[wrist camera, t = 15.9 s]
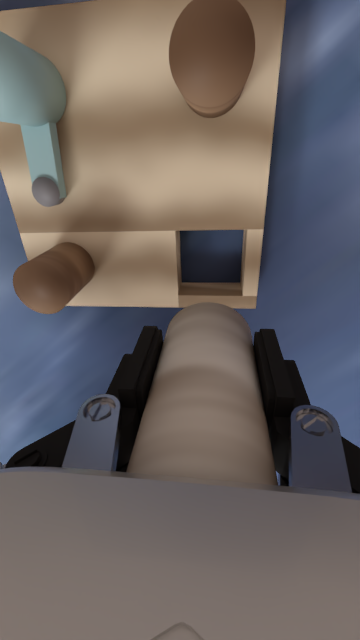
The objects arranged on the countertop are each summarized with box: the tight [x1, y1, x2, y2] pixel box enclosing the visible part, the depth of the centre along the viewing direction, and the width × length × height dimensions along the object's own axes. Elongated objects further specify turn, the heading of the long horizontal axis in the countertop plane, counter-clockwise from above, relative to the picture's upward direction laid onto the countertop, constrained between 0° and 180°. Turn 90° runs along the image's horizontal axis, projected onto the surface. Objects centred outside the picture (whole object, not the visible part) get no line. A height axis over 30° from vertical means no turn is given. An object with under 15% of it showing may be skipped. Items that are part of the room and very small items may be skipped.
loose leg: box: [126, 302, 278, 485], centre depth 10 cm, size 4×4×9 cm
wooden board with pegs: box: [0, 0, 286, 314], centre depth 21 cm, size 20×20×8 cm
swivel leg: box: [0, 31, 67, 207], centre depth 18 cm, size 9×4×5 cm, turn 178°
